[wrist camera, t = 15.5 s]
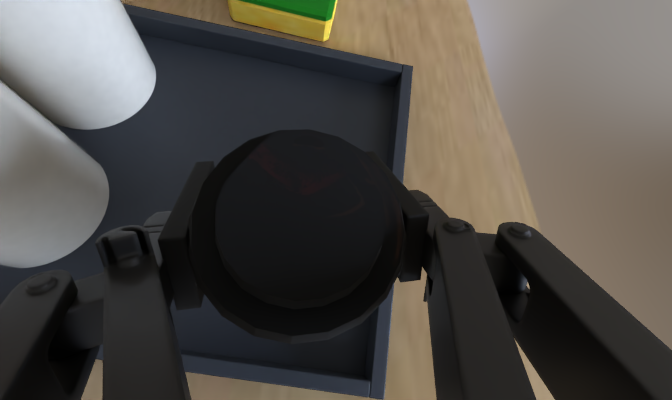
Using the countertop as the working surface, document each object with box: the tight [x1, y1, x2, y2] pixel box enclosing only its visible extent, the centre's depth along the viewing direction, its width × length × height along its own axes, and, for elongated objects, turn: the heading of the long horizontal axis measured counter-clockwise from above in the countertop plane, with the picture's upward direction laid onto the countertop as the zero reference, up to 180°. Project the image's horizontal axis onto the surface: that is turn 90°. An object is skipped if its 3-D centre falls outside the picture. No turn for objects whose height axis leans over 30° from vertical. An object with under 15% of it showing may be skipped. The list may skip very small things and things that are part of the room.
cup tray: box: [0, 4, 413, 400], centre depth 19 cm, size 24×19×2 cm
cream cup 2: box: [0, 0, 156, 130], centre depth 16 cm, size 7×7×10 cm
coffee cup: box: [188, 129, 406, 344], centre depth 14 cm, size 7×7×10 cm
